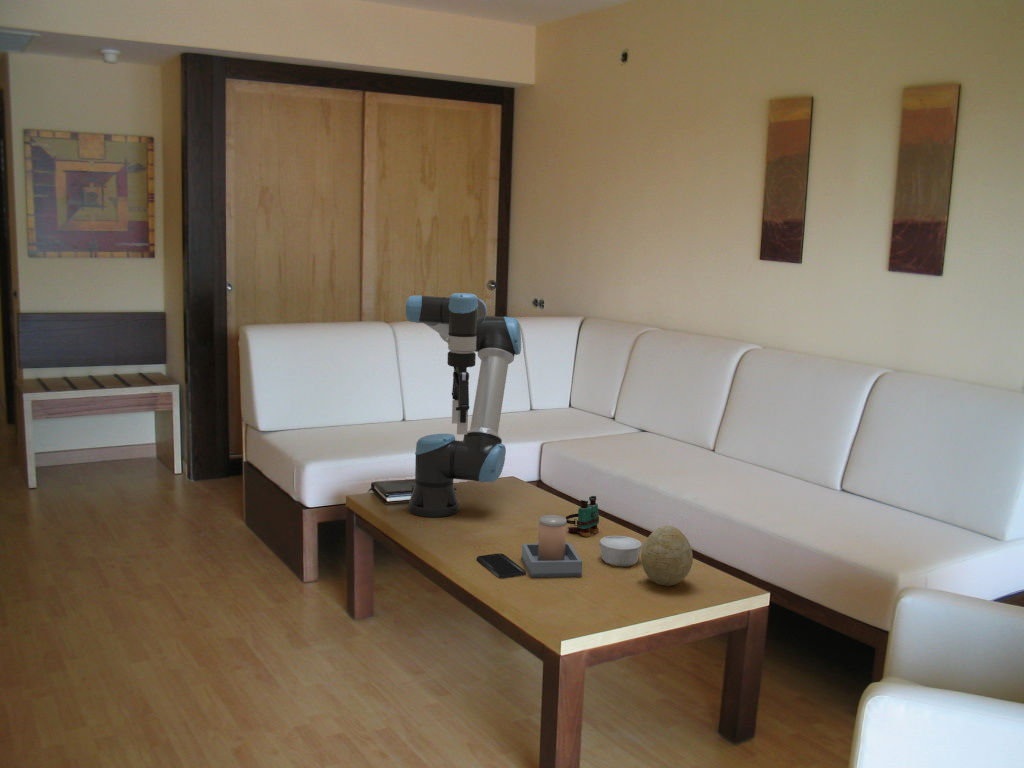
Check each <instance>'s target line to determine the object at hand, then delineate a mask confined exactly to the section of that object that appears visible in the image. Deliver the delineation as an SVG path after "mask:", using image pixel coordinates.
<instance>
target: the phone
mask: <svg viewBox="0 0 1024 768" xmlns="http://www.w3.org/2000/svg"><path fill="white" fill-rule="evenodd" d="M476 561H477V562H478V563H479V564H481V565H482V566H483V567H484V568H485V569H487V570H488V571H489V572H490V573H491V574H492V575H494V576H495V577H496V578H498V579H501V580H502V579H510V578H516V577H517V578H518V577H523V576H526V570H525V569H523V568H522V567H521V566H520V565H519V564H517V562H514V561H513V560H512V559H511V558H510V557H508V556H507V555H505V554H504V553H492V554H484V555H483V554H482V555H477V556H476Z"/></svg>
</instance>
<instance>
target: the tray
mask: <svg viewBox="0 0 1024 768" xmlns="http://www.w3.org/2000/svg"><path fill="white" fill-rule="evenodd" d="M521 545H522V546H521V559H522V562H523V564H524V565H525V568H526V570H527V572H528V574H529V576H530V578H531V579H533V578H575V577H576V578H577V577H578V578H579V577H581V578H582V575H583V573H582V572H583V560H582V559H581V557H580V556H579V554H578V552H577V550H576V549H575V548H574V546H573V545H572V543H571V542H565V560H559V561H537V558H538V542H537V543H536V542H535V543H522V544H521Z"/></svg>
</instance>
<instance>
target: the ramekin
mask: <svg viewBox="0 0 1024 768" xmlns="http://www.w3.org/2000/svg"><path fill="white" fill-rule="evenodd" d="M599 546H600V555H601V560H604V561H605V562H604V561H603V562H604V563H606V564H608V563H609V564H608V565H611V564H612V565H611V566H615V565H617V566H616V567H629V565H631V566H633V564H634V565H635V564H637V562H638V560H639V558H640V557H639V556H640V552H641V550H642V548H643V545H642V542H641V541H640V540H639V539H636V538H634V537H632V536H631V537H630V536H623V535H608V536H604V537H602V538H601V539H600V540H599Z"/></svg>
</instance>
